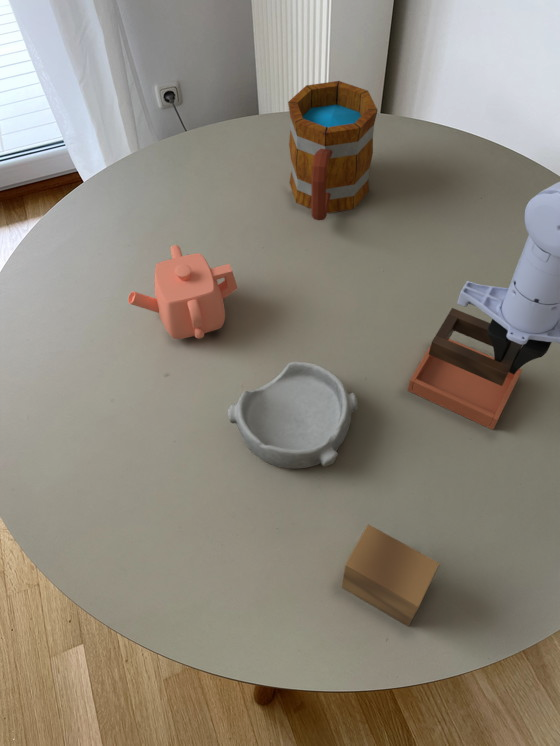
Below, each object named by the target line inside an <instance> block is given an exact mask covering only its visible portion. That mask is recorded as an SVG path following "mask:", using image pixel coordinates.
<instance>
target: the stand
mask: <svg viewBox="0 0 560 746" xmlns="http://www.w3.org/2000/svg"><path fill="white" fill-rule="evenodd" d="M439 566H440V562H438V561H436V560H435V559H433V558H431V557H429V556H427V555H425V554H424V553H422V552H420V551H418V550H416V549H415V548H413V547H410V546H409V545H407V544H405V543H403V542H402V541H400V540H398V539H396V538H394V537H393V536H391V535H389V534H387V533H385V532H383V531H381V530H380V529H378V528H376V527H374V526H372V525H371V524H367V525H366V527H365V529H364V530H363V532H362V534H361V536H360V538H359V539H358V540H357V543H356V545H355V546H354V548H353V550H352V551H351V554H350V556H349V557H348V559H347V561H346V563H345V565H344V572H343V577H342V583H341V588H342V589H344V590H345V591H347V592H348V593H350V594H352V595H354V596H355V597H356V598H359V599H360V600H362V601H364V602H365V603H367V604H369V605H370V606H372V607H374V608H376V609H378V610H379V611H381V612H383V613H384V614H386V615H388V616H389V617H391V618H393V619H394V620H396V621H398V622H399V623H401V624H403V625H404V626H406V627H410V625H411V623H412V621H413V619H414V617H415V616H416V614H417V612H418V610H419V608H420V606H421V604H422V602H423V600H424V597H425V596H426V593H427V592H428V590H429V587H430V586H431V583H432V581H433V578H434V577H435V575H436V572H437V570H438V569H439Z"/></svg>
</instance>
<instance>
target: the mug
mask: <svg viewBox="0 0 560 746" xmlns="http://www.w3.org/2000/svg"><path fill="white" fill-rule="evenodd" d="M287 104H288V111H289V124H290V125H289V126H290V127H289V129H290V131H289V142H288V148H289V156H290V175H289V176H290V177H289V185H290V189H291V191H292V195H293V198H294V201H295V203H296V204H298V205H301V206H303V207H305V208H308V209H310V210H311V212H310V213H311V218H313V220H316V221H324V220H325V219H326V218H327V216H328V214H330V213H336V212H337V213H338V212H342V211H349V210H354V209H355V208H356V207H357V206H358V205H359V204H360V202H361V201H362V200H363V199H364V198H365V197H366V195H367V194H368V193H369V192H370V182H369V180H370V178H369V177H370V170H371V164H372V159H373V154H374V131H375V130H374V129H375V122H376V118H377V114H378V108H377V105H376V104H375V101H374V99H373V98H372V95H371V94H370V91H369V90H367V89H364V88H362V87H358V86H356V85H352V84H349V83H346V82H344V81H341V80H336V81H328V82H321V83H314V84H307V85H305V86H304V87H303V88H302V89H300V90H299V92H297V93H296V94H295V95H294V96H293V97H292V98H290V100H289V101H287Z"/></svg>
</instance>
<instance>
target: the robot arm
mask: <svg viewBox="0 0 560 746" xmlns="http://www.w3.org/2000/svg"><path fill="white" fill-rule="evenodd" d="M523 218H524V226H525V229H526V232H527V234H528V236H527V239H526V241H525V244H524V246H523V249H522V251H521V254H520V257H519V259H518V262H517V265H516V267H515V270H514V272H513V275H512V278H511V281H510V283H509V285H508V287H502V286H495V285H494V286H493V285H485V284H480V283H476V282H472V281H469V280H467V281H466V282H465V283H464V285H463V287H462V289H461V290H460V292H459V296H458V299H457V302H456V304H457V305H459V306H461V307H465V308H466V307H468V306H469V305H471V306H474V307H476V308H477V309H479V310H480V311H482V312H483V313H484V314H485V315H487V316H488V317H490V319H491V320H490V322H489V323H490V325H489V326H488V331H487V335H488V337H489V338H490V340H491V342H492V345H493V347H492V348H493V355H494V356H493V357H494V360H496V361H498V362H501V361H502V359H503V357H504V355H505V353H506V351H507V349H508V347H509V345H510V342H511V341H514V342H516V343H518V344H522V347H521V349H520V351H519V353H518V355H517V357H516V359H515V361H514V363H513V365H512V367H511V369H510V371H509V372H510V373H512V374H515V373H516V372H517V370H518V369H522V367H523V366H524V365H526V364H528V363H529V362H531V361H533V360H536V359H539V358H542V357H544V356H545V355H546V354H547V353H548V351H549V349H550V347H551V345H552V343H554V344H560V181H558V182H556V183H554V184H552V185H551V186H549V187H546V188H545V189H543V190H542V191H540V192H539V193H537V194H536V195H534V196H533V197H532V198H531V199H530V200H529V201H528V202H527V204H526V206H525V210H524V217H523Z"/></svg>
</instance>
